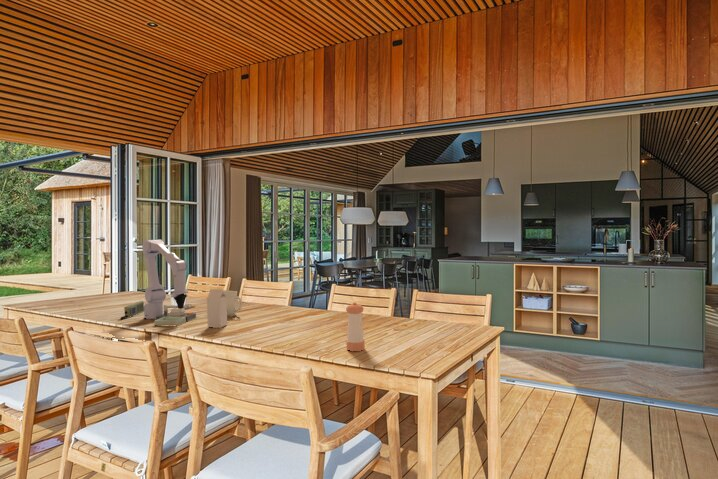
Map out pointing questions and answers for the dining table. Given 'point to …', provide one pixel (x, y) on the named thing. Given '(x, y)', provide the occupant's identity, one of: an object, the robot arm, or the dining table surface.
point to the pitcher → (232, 302)
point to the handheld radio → (134, 309)
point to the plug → (177, 312)
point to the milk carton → (216, 308)
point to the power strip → (188, 316)
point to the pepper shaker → (355, 328)
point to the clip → (173, 307)
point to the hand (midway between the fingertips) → (180, 308)
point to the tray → (170, 321)
